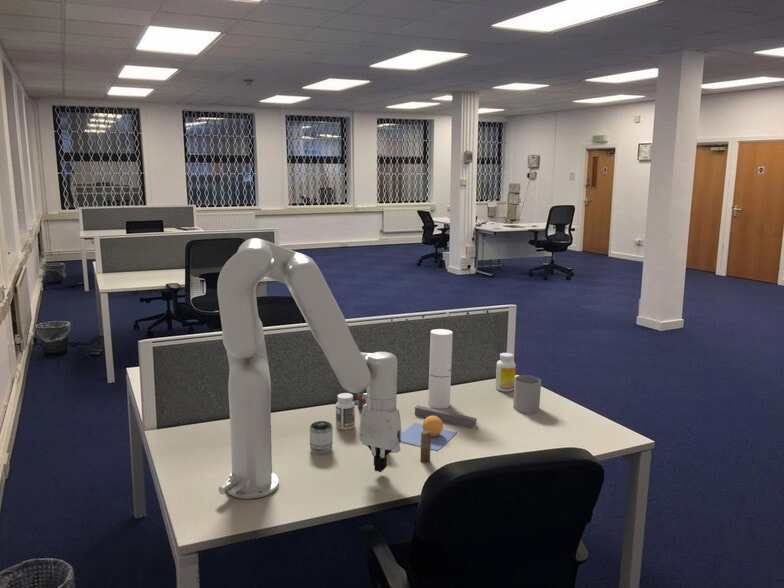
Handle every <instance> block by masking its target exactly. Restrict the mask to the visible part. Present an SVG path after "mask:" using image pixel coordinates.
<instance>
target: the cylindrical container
mask: <svg viewBox="0 0 784 588" xmlns="http://www.w3.org/2000/svg"><path fill="white" fill-rule="evenodd" d="M453 333H454V332H453V331H452V330H450V329H445V328H437V329H435V328H434V329H431V330H430V336H429V337H430V340H429V342H430V343H429V367H428V368H429V369H428V370H429V371H428V398H427V399H428V400H427V402H428V403H427V405H428V407H429V408H432V409H437V410H441V409H442V410H443V409H447V408H449V407H450V406H451V384H452V383H451V382H452V381H451V380H452V357H453Z"/></svg>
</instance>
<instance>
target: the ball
mask: <svg viewBox="0 0 784 588" xmlns="http://www.w3.org/2000/svg"><path fill="white" fill-rule="evenodd" d="M422 424H423V430H424V431H429V432H431V436H432V437H434V436H438V435H439V434H440V433H441V432H442V430H443V429H444V424H443V421H441V419H440V418H439V417H437V416H429V417H425V419H424V420H423V422H422Z"/></svg>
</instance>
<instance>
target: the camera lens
mask: <svg viewBox="0 0 784 588" xmlns="http://www.w3.org/2000/svg"><path fill="white" fill-rule="evenodd" d="M333 428H334V427H333V424H332V423H330V422H329V421H325V420H320V421H319V420H318V421H315V422H313V423H312V424H310V426H309V449H310V451H311V453H312V454H314V455H319V456H321V455H328V454H329V453H331V452H332V449H333V444H334V443H333V433H334V432H333Z"/></svg>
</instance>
